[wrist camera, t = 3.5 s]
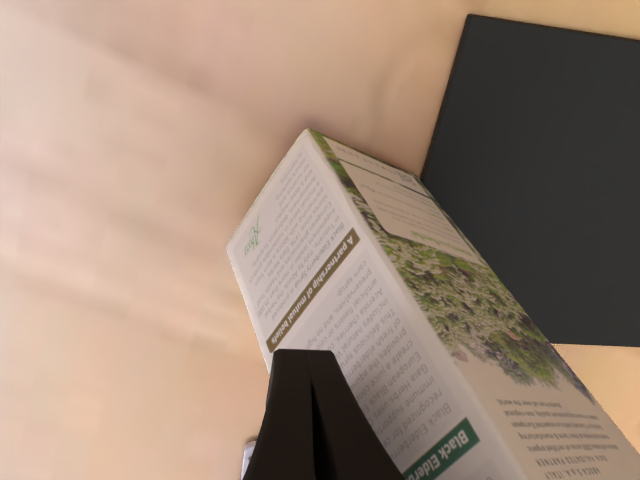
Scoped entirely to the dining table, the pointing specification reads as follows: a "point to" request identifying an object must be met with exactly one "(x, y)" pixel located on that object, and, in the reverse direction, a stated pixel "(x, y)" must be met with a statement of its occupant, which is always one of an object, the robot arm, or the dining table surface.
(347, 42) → the dining table surface
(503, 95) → the rubber mat
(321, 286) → the syrup box
